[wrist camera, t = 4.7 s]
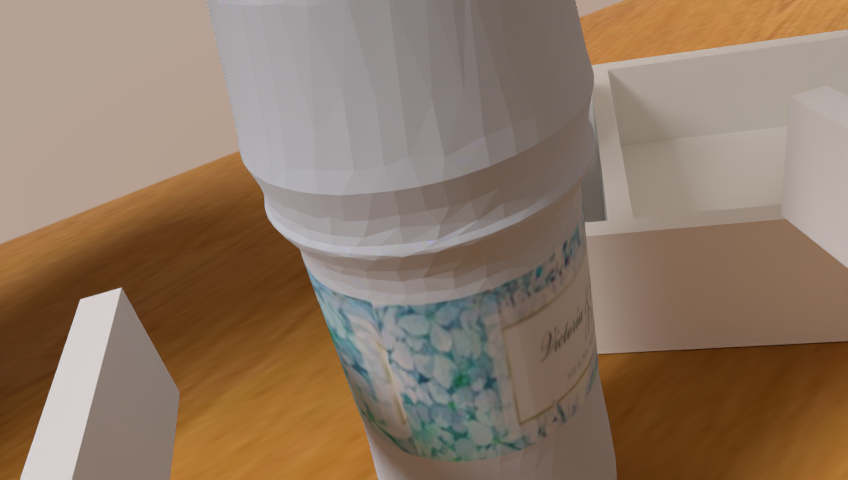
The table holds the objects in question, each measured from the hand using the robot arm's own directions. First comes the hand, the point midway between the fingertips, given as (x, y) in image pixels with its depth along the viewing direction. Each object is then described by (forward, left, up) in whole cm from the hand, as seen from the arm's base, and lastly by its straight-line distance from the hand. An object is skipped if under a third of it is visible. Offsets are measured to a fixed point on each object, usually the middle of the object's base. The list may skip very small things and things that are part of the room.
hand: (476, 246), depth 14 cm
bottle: (-1, +1, -11) cm, 11 cm away
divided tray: (+7, +15, -11) cm, 20 cm away
